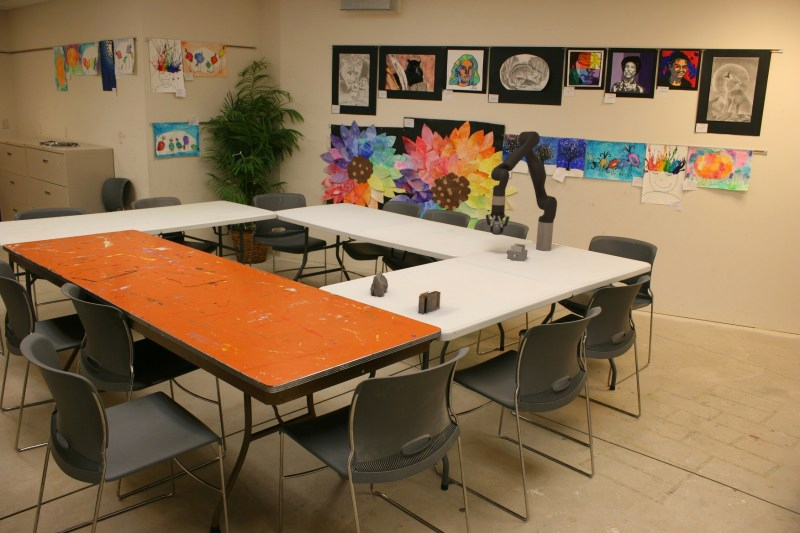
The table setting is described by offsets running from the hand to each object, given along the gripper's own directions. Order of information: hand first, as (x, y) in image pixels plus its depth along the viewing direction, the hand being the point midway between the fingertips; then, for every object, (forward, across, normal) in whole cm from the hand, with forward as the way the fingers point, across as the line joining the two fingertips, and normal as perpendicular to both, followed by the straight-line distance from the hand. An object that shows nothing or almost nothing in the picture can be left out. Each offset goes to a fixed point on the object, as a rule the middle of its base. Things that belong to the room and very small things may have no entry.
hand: (496, 232), depth 389 cm
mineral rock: (+12, +22, +111) cm, 114 cm away
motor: (+13, -13, +3) cm, 19 cm away
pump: (+1, 0, 0) cm, 1 cm away
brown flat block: (+12, -7, +125) cm, 126 cm away
